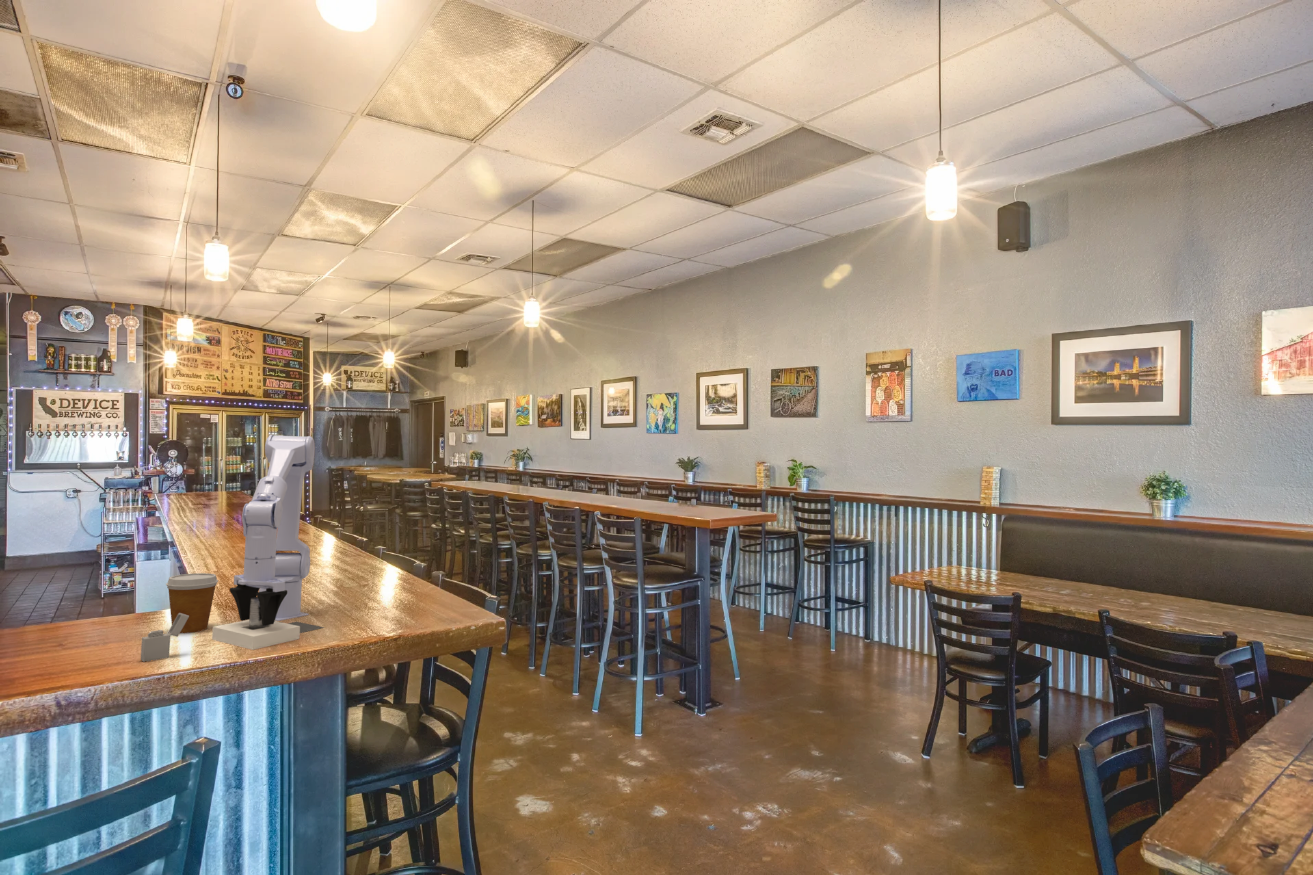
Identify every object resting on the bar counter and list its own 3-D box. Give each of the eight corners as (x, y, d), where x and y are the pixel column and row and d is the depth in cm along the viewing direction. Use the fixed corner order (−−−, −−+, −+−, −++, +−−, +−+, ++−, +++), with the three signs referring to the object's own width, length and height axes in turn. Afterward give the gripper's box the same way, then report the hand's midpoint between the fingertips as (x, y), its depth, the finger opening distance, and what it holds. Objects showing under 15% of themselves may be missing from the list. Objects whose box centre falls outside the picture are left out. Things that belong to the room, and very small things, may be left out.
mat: (263, 630, 151) (263, 628, 151) (296, 623, 158) (296, 621, 158) (291, 636, 146) (291, 635, 146) (324, 629, 153) (324, 627, 153)
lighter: (143, 662, 126) (146, 619, 126) (140, 660, 127) (142, 617, 127) (187, 654, 132) (189, 613, 132) (183, 652, 133) (186, 611, 133)
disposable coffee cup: (225, 629, 150) (228, 575, 151) (179, 639, 142) (183, 581, 142) (198, 624, 154) (201, 571, 155) (153, 633, 146) (156, 577, 146)
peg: (244, 641, 141) (247, 598, 142) (258, 638, 144) (261, 595, 144) (253, 643, 140) (256, 600, 140) (267, 640, 143) (270, 597, 143)
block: (211, 641, 141) (212, 626, 141) (259, 631, 150) (259, 617, 150) (252, 651, 134) (253, 636, 134) (299, 640, 143) (299, 626, 143)
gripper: (220, 556, 142) (217, 621, 142) (262, 563, 136) (259, 631, 135) (253, 553, 149) (250, 615, 148) (295, 559, 142) (292, 624, 141)
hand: (256, 622), depth 142 cm, fingers open, 7 cm apart
